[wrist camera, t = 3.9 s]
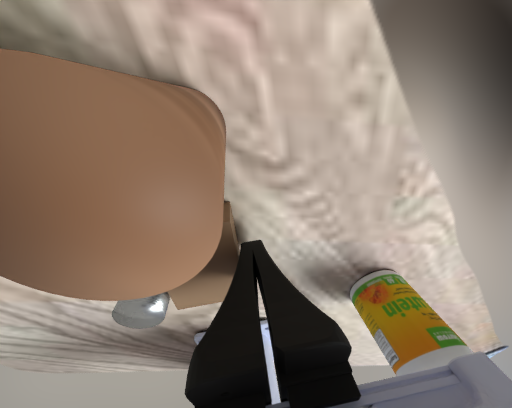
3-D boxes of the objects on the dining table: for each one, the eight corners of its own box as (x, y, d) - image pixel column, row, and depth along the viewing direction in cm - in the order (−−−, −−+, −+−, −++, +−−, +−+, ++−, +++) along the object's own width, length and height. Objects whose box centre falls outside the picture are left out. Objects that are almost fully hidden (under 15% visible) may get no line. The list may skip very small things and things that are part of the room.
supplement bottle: (403, 262, 18) (559, 410, 9) (393, 294, 20) (506, 429, 12) (349, 276, 18) (457, 437, 9) (346, 306, 20) (428, 450, 12)
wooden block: (243, 269, 16) (246, 297, 14) (184, 280, 15) (177, 309, 13) (229, 198, 12) (230, 221, 10) (152, 210, 12) (135, 236, 10)
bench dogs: (180, 284, 15) (171, 323, 12) (143, 291, 15) (125, 332, 12) (145, 214, 11) (122, 249, 9) (95, 222, 11) (56, 259, 9)
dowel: (231, 159, 10) (239, 280, 4) (166, 168, 10) (40, 317, 3) (218, 83, 9) (180, 28, 2) (138, 92, 8) (-279, 72, 1)
